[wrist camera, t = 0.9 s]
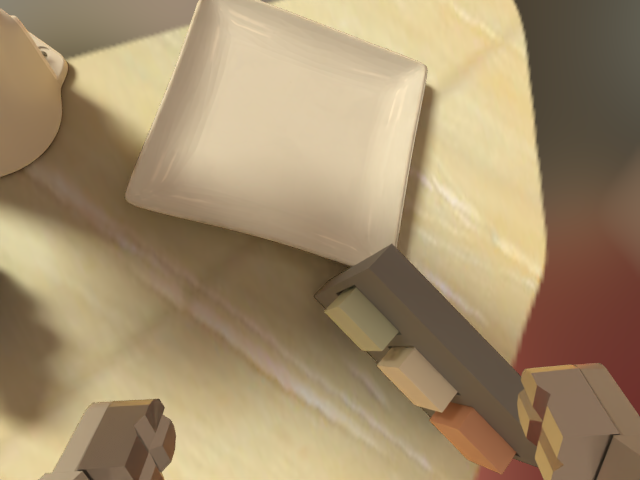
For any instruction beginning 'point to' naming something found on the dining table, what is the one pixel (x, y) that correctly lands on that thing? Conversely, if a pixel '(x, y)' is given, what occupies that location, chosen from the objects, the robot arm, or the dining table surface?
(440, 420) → the key terracotta
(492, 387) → the keyguard
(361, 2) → the dining table surface
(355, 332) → the key sage
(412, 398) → the key ivory
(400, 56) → the square plate
